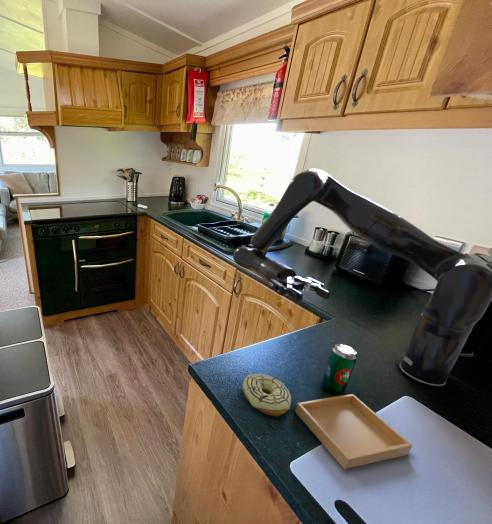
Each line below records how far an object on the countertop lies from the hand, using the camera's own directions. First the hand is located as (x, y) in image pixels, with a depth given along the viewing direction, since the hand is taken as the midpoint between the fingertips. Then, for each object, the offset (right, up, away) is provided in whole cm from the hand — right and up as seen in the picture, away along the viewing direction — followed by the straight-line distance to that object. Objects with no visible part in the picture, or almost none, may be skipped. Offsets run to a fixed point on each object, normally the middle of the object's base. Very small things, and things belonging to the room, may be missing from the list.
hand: (315, 297), depth 77 cm
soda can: (+2, -23, -4) cm, 23 cm away
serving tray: (-3, -27, -16) cm, 31 cm away
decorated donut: (-17, -24, -8) cm, 30 cm away
